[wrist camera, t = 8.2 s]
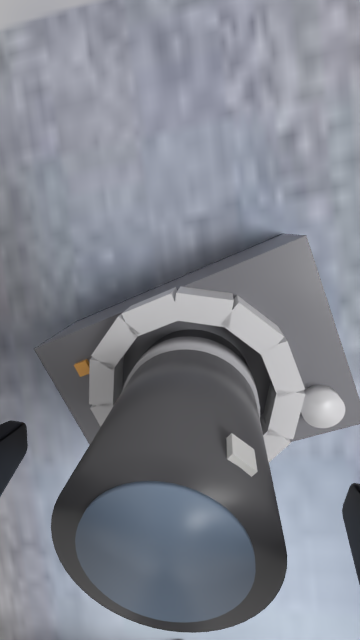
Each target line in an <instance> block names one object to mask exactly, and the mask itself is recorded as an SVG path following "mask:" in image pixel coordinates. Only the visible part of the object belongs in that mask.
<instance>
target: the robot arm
mask: <svg viewBox="0 0 360 640" xmlns="http://www.w3.org/2000/svg"><path fill="white" fill-rule="evenodd" d="M27 446H28V444H27V428H26V425H25V423H23V422H18V421H8V422H5V423H3V424H1V425H0V496H1V495H2V493H3V491H4V489H5V488H6V486H7V484H8V483H9V481H10V479H11V478H12V476H13V474H14V473H15V471H16V469H17V468H18V466H19V464H20V463H21V461H22V459H23V457H24V456H25V454H26V451H27ZM342 513H343V519H344V523H345V527H346V531H347V536H348V540H349V544H350V548H351V552H352V556H353V560H354V564H355V568H356V573H357V576H358V580H359V584H360V484H357V483H353V484H351V486H350V488H349V490H348V493H347V496H346V499H345V501H344V504H343V509H342Z"/></svg>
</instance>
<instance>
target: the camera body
mask: <svg viewBox="0 0 360 640" xmlns="http://www.w3.org/2000/svg"><path fill="white" fill-rule="evenodd" d="M190 329H195V330H203V331H208V332H211V333H214V334H217V335H219V336H221V337H223V338H225V339H226V340H228V341H229V342H230V343H232V344H233V345H234V346H235V347H236V348H237V349H238V350H239V351H240V352H241V354H242V355H243V357H244V358H245V360H246V362H247V364H248V367H249V370H250V372H251V374H252V376H253V378H254V382H255V385H256V389H257V393H258V398H259V404H260V423H261V428H262V432H263V437H264V442H265V447H266V452H267V457H268V462H270V461H271V460H272V459H274V458H275V457H276V456H277V455H278V454H279V453H280V452H281V451H283V450H284V449H285V448H286V447H287V446H288V445H289V444H290V443H291V442H292V441H296V440H300V439H304V438H308V437H312V436H315V435H319V434H323V433H327V432H331V431H335V430H338V429H342V428H346V427H350V426H354V425H358V424H360V399H359V396H358V393H357V390H356V387H355V384H354V381H353V378H352V375H351V372H350V369H349V366H348V363H347V359H346V356H345V353H344V350H343V347H342V344H341V341H340V338H339V335H338V332H337V329H336V326H335V323H334V319H333V316H332V313H331V310H330V307H329V304H328V301H327V298H326V295H325V292H324V289H323V286H322V283H321V279H320V276H319V273H318V270H317V267H316V264H315V261H314V258H313V255H312V252H311V249H310V246H309V243H308V239H307V236H306V235H294V234H281V235H279V236H277V237H274V238H272V239H270V240H267V241H265V242H263V243H260V244H258V245H255V246H253V247H251V248H248V249H246V250H244V251H241V252H239V253H237V254H234V255H232V256H230V257H227V258H225V259H223V260H220V261H218V262H216V263H213V264H211V265H208V266H206V267H204V268H201V269H199V270H197V271H194V272H192V273H190V274H187V275H185V276H183V277H180V278H178V279H176V280H173V281H171V282H168V283H166V284H164V285H161V286H159V287H157V288H154V289H152V290H150V291H147V292H145V293H143V294H140V295H138V296H136V297H133V298H131V299H128V300H126V301H124V302H121V303H119V304H117V305H114V306H112V307H110V308H107V309H105V310H103V311H100V312H98V313H96V314H93V315H91V316H89V317H86V318H84V319H81V320H79V321H77V322H75V323H73V324H72V325H70V326H69V327H67V328H65V329H64V330H62V331H61V332H59V333H58V334H56V335H55V336H53V337H51V338H50V339H48V340H47V341H45V342H44V343H42V344H41V345H39V346H38V347H36V348H34V350H35V352H36V354H37V355H38V357H39V359H40V360H41V362H42V364H43V366H44V367H45V369H46V371H47V372H48V374H49V376H50V378H51V379H52V381H53V383H54V384H55V386H56V388H57V389H58V391H59V393H60V395H61V396H62V398H63V400H64V401H65V403H66V405H67V407H68V408H69V410H70V412H71V413H72V415H73V417H74V418H75V420H76V422H77V424H78V425H79V427H80V429H81V430H82V432H83V434H84V436H85V437H86V439H87V441H88V442H89V444H91V442H92V441H93V439H94V437H95V436H96V434H97V432H98V431H99V429H100V427H101V426H102V424H103V422H104V421H105V419H106V417H107V416H108V414H109V413H110V411H111V409H112V408H113V406H114V404H115V403H116V401H117V399H118V398H119V396H120V394H121V393H122V390H123V387H124V384H125V382H126V380H127V378H128V376H129V374H130V373H131V371H132V370H133V368H134V366H135V365H136V363H137V362H138V360H139V359H140V358H141V357H142V355H143V354H144V353H145V352H147V350H148V349H149V348H150V347H151V346H152V345H153V344H154V343H155V342H156V341H157V340H159V339H160V338H162V337H164V336H166V335H168V334H170V333H173V332H176V331H181V330H190Z"/></svg>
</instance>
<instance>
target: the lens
mask: <svg viewBox="0 0 360 640" xmlns="http://www.w3.org/2000/svg"><path fill="white" fill-rule="evenodd" d="M51 531H52V539H53V543H54V547H55V550H56V553H57V555H58V557H59V560H60V562H61V563H62V565H63V567H64V568H65V570H66V571H67V573H68V574H69V575H70V577H71V578H72V579H73V581H74V582H75V583H76V584H77V585H78V586H79V587H80V588H81V589H82V590H83V591H84V592H85V593H86V594H88V595H89V596H90V597H91V598H92V599H94V600H95V601H96V602H98V603H99V604H101V605H102V606H104V607H105V608H107V609H109V610H110V611H112V612H114V613H116V614H118V615H120V616H122V617H124V618H126V619H129V620H131V621H134V622H136V623H139V624H142V625H146V626H149V627H153V628H157V629H162V630H167V631H176V632H209V631H215V630H221V629H225V628H228V627H232V626H235V625H237V624H240V623H242V622H245V621H247V620H248V619H250V618H252V617H254V616H256V615H257V614H258V613H260V612H261V611H262V610H263V609H265V608H266V607H267V606H268V605H269V604H270V603H271V602H272V601H273V599H274V598H275V596H276V595H277V593H278V592H279V590H280V588H281V586H282V584H283V581H284V578H285V574H286V569H287V552H286V546H285V541H284V536H283V531H282V526H281V521H280V516H279V511H278V506H277V501H276V496H275V491H274V487H273V482H272V477H271V472H270V467H269V462H268V457H267V452H266V447H265V442H264V437H263V432H262V428H261V423H260V404H259V398H258V393H257V389H256V385H255V382H254V378H253V376H252V374H251V372H250V370H249V367H248V364H247V362H246V360H245V358H244V357H243V355H242V354H241V352H240V351H239V350H238V349H237V348H236V347H235V346H234V345H233V344H232V343H230V342H229V341H228V340H226V339H225V338H223V337H221V336H219V335H217V334H214V333H211V332H208V331H203V330H195V329H190V330H181V331H176V332H173V333H170V334H168V335H166V336H164V337H162V338H160V339H159V340H157V341H156V342H155V343H154V344H153V345H152V346H151V347H150V348H149V349H148V350H147V352H145V353H144V354H143V355H142V357H141V358H140V359H139V360H138V362H137V363H136V365H135V366H134V368H133V370H132V371H131V373H130V374H129V376H128V378H127V380H126V382H125V384H124V387H123V390H122V393H121V394H120V396H119V398H118V399H117V401H116V403H115V404H114V406H113V408H112V409H111V411H110V413H109V414H108V416H107V417H106V419H105V421H104V422H103V424H102V426H101V427H100V429H99V431H98V432H97V434H96V436H95V437H94V439H93V441H92V442H91V444H90V445H89V447H88V449H87V450H86V452H85V454H84V455H83V457H82V459H81V460H80V462H79V464H78V465H77V467H76V469H75V470H74V472H73V473H72V475H71V477H70V478H69V480H68V482H67V483H66V485H65V487H64V488H63V490H62V492H61V493H60V495H59V497H58V499H57V501H56V503H55V506H54V510H53V514H52V521H51Z"/></svg>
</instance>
